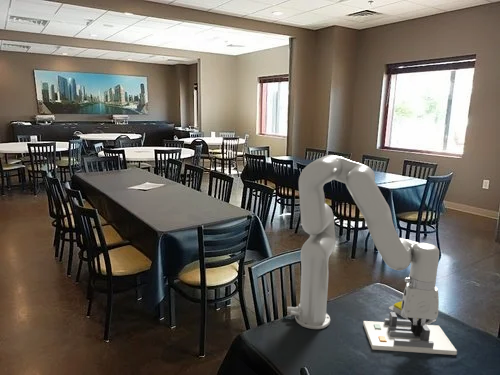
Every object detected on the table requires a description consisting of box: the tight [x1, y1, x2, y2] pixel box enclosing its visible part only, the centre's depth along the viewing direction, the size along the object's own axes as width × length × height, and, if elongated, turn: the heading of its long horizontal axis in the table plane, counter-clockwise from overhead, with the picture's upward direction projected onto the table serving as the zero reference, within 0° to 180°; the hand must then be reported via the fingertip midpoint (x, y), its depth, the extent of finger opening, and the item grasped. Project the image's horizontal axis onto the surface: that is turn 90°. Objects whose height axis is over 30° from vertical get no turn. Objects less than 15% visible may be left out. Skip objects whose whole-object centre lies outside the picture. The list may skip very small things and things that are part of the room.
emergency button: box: [388, 300, 437, 325], centre depth 139 cm, size 9×4×15 cm
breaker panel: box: [362, 317, 458, 356], centre depth 124 cm, size 26×14×3 cm, turn 85°
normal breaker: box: [388, 311, 398, 327], centre depth 127 cm, size 2×3×5 cm, turn 174°
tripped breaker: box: [420, 325, 430, 341], centre depth 120 cm, size 2×3×5 cm, turn 175°
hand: (416, 334), depth 120 cm, fingers closed
